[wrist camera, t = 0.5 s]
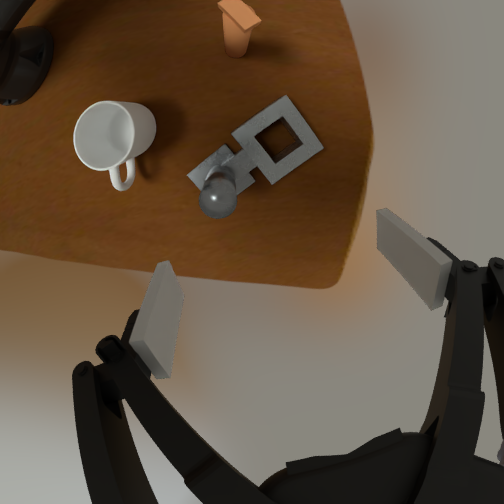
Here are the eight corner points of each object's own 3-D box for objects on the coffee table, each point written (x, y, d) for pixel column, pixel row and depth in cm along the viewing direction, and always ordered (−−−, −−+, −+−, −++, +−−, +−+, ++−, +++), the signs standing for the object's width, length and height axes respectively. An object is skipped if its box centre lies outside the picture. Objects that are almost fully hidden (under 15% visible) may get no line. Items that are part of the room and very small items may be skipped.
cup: (154, 97, 32) (130, 92, 23) (164, 175, 38) (144, 194, 29) (104, 110, 32) (69, 112, 23) (115, 184, 38) (85, 205, 29)
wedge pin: (218, 45, 29) (212, 6, 16) (235, 34, 29) (239, -10, 15) (236, 64, 31) (239, 33, 18) (253, 53, 30) (266, 17, 17)
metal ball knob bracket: (184, 170, 38) (166, 191, 27) (279, 97, 34) (300, 89, 23) (221, 212, 41) (218, 248, 31) (313, 144, 37) (345, 156, 27)
